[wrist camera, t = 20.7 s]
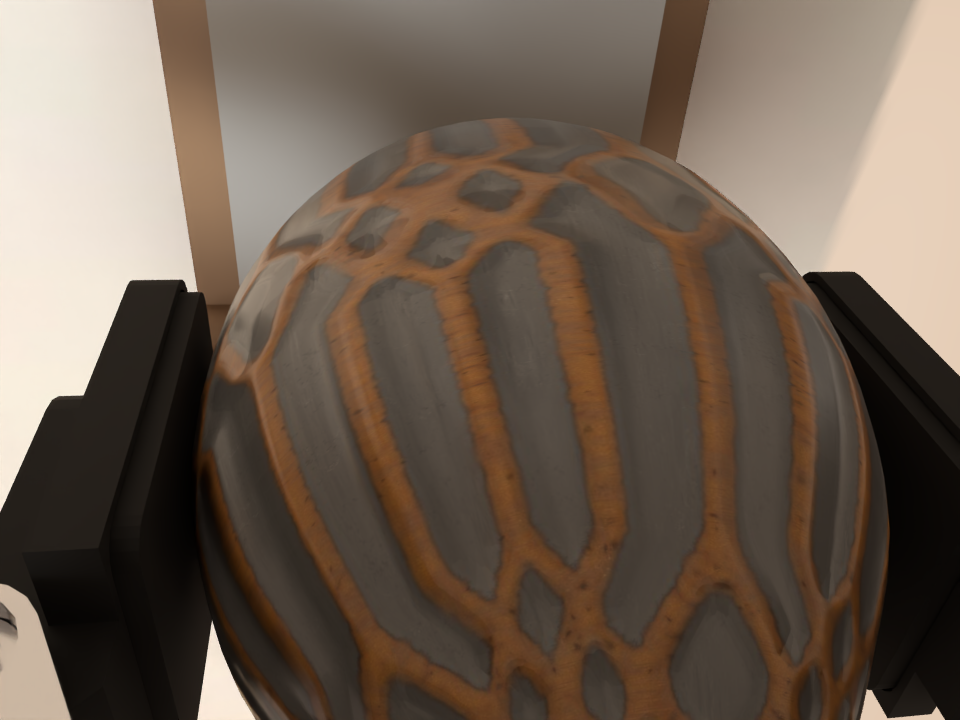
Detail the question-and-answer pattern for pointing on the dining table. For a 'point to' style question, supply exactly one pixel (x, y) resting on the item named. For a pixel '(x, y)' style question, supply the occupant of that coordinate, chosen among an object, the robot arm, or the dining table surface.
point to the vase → (535, 450)
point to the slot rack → (390, 94)
